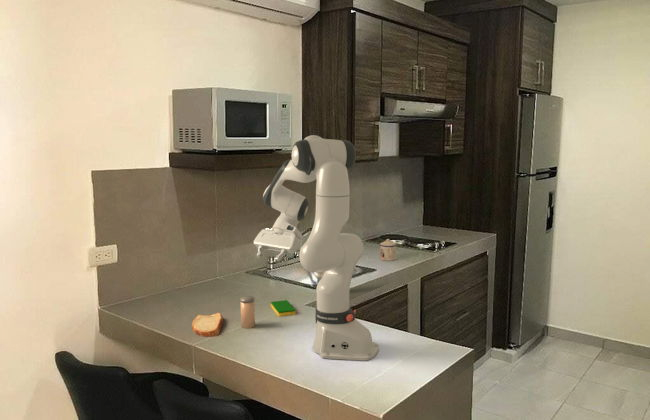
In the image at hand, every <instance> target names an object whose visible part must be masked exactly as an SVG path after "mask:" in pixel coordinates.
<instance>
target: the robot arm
mask: <svg viewBox="0 0 650 420" xmlns="http://www.w3.org/2000/svg"><path fill="white" fill-rule="evenodd" d="M356 152H357V151H356V147H355V146H354V144H353V143H352V142H351V141H350V140H346V139H329V138H324V137H323V138H322V137H321V136H319V135H316V134H315V135H313V134H311V135H309V136H306V137H305V138H304V139H301V140H298V141H295V142H294V144H293V145H292V150H291V159H287V160H285V161H284V162H283V163H282V165H281V166H280V168H279V170H278V171H277V172H276V174H275V176H274V177H273V179H272V181H271V183H270V184H269V185H268V186H267V187H266V188H265V190H264V192H263V195H262V200H263V203H264V205H265V207H268V208H271V209H274V210H276V211H278V212H280V215H279V216H278V217H277V218H276V219H275V221H274V223H273V225H272V227H265V228H263V229H261V231H259V232H258V234H257V235H256V236H255V238H254V239H253V244H254V246H255V247H256V248H257V253H256V257H257V258H259V259H260V258H261V259H262V257H263V256H264V254H263V252H264V251H265V250H268V251H273V252H280V253H279V254H276V255H275V257H274V260H275V261H276V262H281V260H282V259H283V258H284V257H285V256H286V255H287V254H292V255H294V254H296V252H297V251H298V249H299V247H300V245H301V241H302V240H303V237H304V236H303V235H302V233H301V231H300V230H299V229H298V228H297V227H298V224H299V223H300V222H301V221H303V220H304V219H305V217H306V215H307V213H308V212H309V209H310V203H309V199H308V198H307V197H306V196H304V195H303V194H301V193H298V192H296V191H293V190H291V189H289V188H288V187H286V186H284V185H283V183H284V182H285V181H294V182H298V183H301V184H302V183H303V184H305V183H306V184H307V183H311V182H312V183H313V182H314V181H316V182H315V183H316V184H315V216H314V221H313V226H312V229H311V232H310V233H309V236H308V238H307V240H306V241H305V242H304V244H303V245H302V246H301V247H300V250H299V253H298V254H299V255H298V256H299V257H298V258H299V261H300V265H301V267H302V268H303V269H304V270H305V271H307V272H309V273H324V274H323V276H322V278H321V279H320V280H319V281H318V283H317V285H316V308H315V313H314V314H315V315H314V318H315V324H316V326H315V334H314V335H315V336H314V341H313V345H312V350H313V351H314V352H315V353H316V354H318V355H319V356H320V357H321V358H322V359H327V360H328V359H329V360H346V361H347V360H348V361H364V362H365V361H369V360H372V359H373V358H375V357H376V355H378V352H379V351H380V348H379V344H378V343H377V342H375V341H373V337H372V334H371V331H370V329H369V328H368V327H366V326H365V325H363V324H362V323H361V322H360V321H359V320H357V319H356V313H357V312H356V308H355V309H354V310H353V309H352V308H351V307H350V288H351V281H352V277H353V274H354V270H355V268H356V266H357V264H358V263H359V260H360V259H362V257H363V255H364V251H365V247H364V243H363V241H362V239H361V237H360V236H358V235H357V234H355V233H348V232H347V233H345V232H342V230H343V227H344V226H345V224H347V222H348V221H349V219H350V200H351V199H350V192H351V191H350V178H349V173H348V170H350V169H352V168H353V166H354V165H355V162H356V157H357V155H356ZM341 232H342V233H341Z"/></svg>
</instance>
